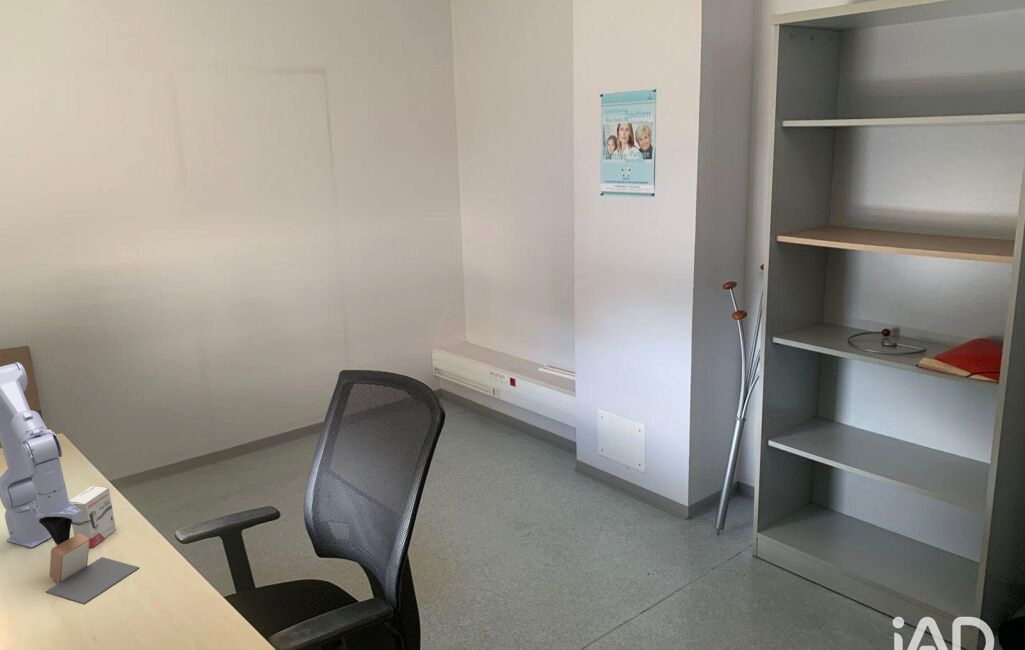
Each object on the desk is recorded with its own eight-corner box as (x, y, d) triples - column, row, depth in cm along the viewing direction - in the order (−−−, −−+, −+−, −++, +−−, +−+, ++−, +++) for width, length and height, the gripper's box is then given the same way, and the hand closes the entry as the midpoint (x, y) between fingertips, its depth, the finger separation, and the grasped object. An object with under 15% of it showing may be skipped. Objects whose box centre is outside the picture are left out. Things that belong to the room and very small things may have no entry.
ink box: (93, 548, 186) (84, 503, 182) (75, 547, 187) (65, 502, 183) (118, 529, 194) (109, 485, 191) (100, 528, 195) (91, 484, 192)
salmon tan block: (49, 576, 173) (51, 548, 170) (77, 559, 179) (79, 532, 176) (59, 583, 172) (61, 556, 169) (87, 566, 179) (90, 539, 175)
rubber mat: (45, 592, 169) (45, 591, 169) (102, 558, 181) (101, 557, 181) (84, 604, 164) (84, 603, 164) (139, 568, 177) (139, 567, 176)
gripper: (10, 491, 170) (24, 547, 173) (56, 502, 164) (69, 559, 167) (41, 477, 176) (53, 531, 179) (86, 487, 170) (98, 542, 174)
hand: (63, 543), depth 174 cm, fingers closed
